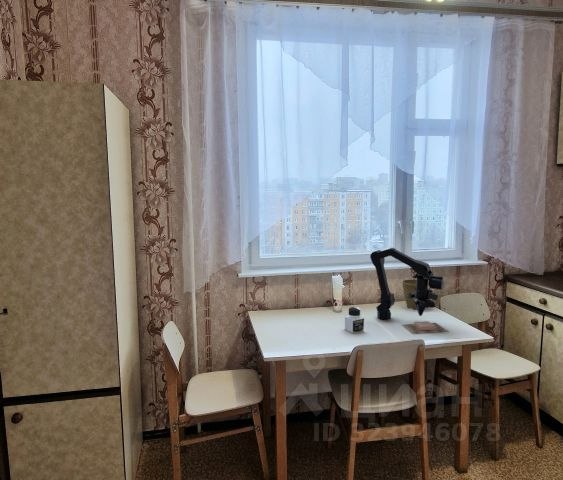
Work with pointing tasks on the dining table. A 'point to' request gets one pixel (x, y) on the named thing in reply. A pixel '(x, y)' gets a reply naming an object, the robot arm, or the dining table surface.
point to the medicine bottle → (354, 321)
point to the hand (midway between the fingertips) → (420, 315)
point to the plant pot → (409, 291)
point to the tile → (424, 325)
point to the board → (414, 330)
